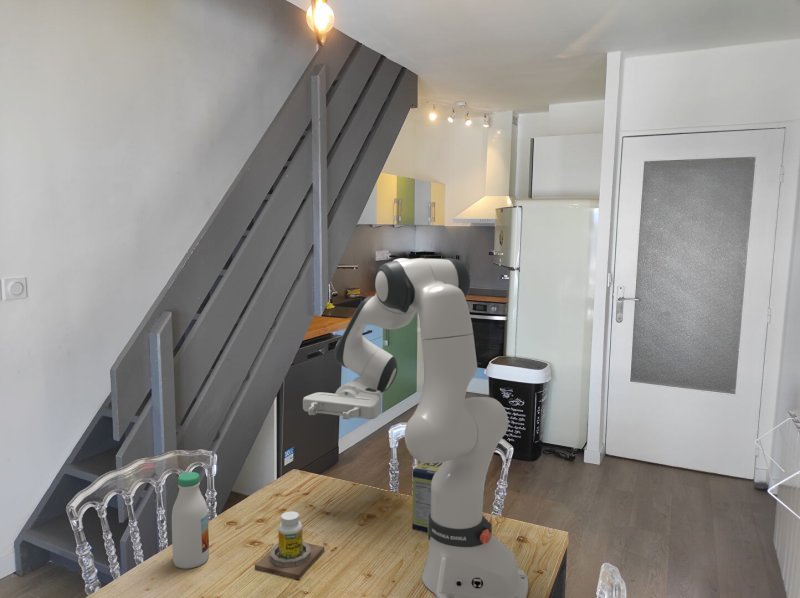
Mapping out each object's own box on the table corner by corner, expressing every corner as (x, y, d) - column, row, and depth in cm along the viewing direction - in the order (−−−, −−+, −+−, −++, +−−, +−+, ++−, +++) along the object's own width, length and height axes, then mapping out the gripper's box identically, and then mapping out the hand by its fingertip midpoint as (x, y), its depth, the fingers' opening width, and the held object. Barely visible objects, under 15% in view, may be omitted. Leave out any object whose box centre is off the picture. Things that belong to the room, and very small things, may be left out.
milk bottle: (194, 572, 124) (191, 485, 122) (165, 566, 127) (162, 479, 125) (216, 554, 132) (214, 471, 129) (188, 548, 134) (186, 466, 132)
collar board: (324, 550, 133) (324, 541, 133) (298, 579, 122) (298, 569, 122) (283, 542, 137) (283, 533, 137) (254, 569, 126) (254, 559, 126)
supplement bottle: (297, 546, 133) (296, 507, 132) (306, 557, 129) (306, 516, 128) (275, 553, 130) (274, 513, 129) (284, 564, 126) (283, 523, 125)
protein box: (468, 510, 154) (469, 455, 152) (450, 538, 140) (452, 477, 138) (431, 503, 158) (432, 449, 156) (411, 529, 144) (411, 470, 142)
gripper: (316, 384, 156) (290, 397, 143) (386, 391, 149) (365, 405, 136) (317, 406, 157) (291, 421, 144) (386, 415, 150) (365, 431, 137)
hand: (327, 414), depth 140 cm, fingers open, 8 cm apart
